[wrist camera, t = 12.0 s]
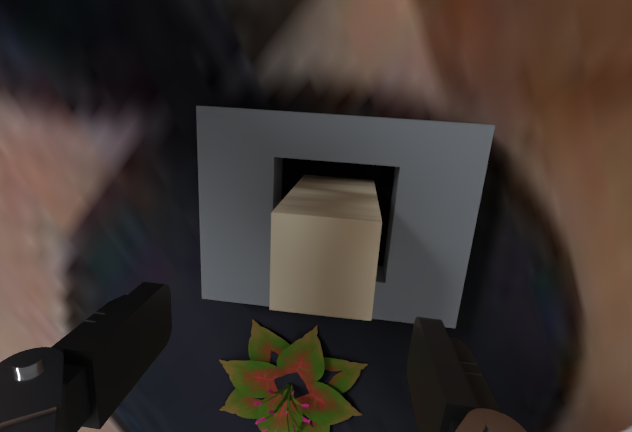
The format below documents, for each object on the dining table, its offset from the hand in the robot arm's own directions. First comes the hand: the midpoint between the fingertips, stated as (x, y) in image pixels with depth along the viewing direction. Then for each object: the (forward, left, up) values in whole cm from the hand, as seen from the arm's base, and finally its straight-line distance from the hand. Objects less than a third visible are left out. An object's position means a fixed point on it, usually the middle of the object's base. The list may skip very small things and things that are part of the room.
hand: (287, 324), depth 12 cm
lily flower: (-2, -14, -13) cm, 19 cm away
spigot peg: (+1, 0, -13) cm, 13 cm away
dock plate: (+1, 0, -13) cm, 13 cm away
